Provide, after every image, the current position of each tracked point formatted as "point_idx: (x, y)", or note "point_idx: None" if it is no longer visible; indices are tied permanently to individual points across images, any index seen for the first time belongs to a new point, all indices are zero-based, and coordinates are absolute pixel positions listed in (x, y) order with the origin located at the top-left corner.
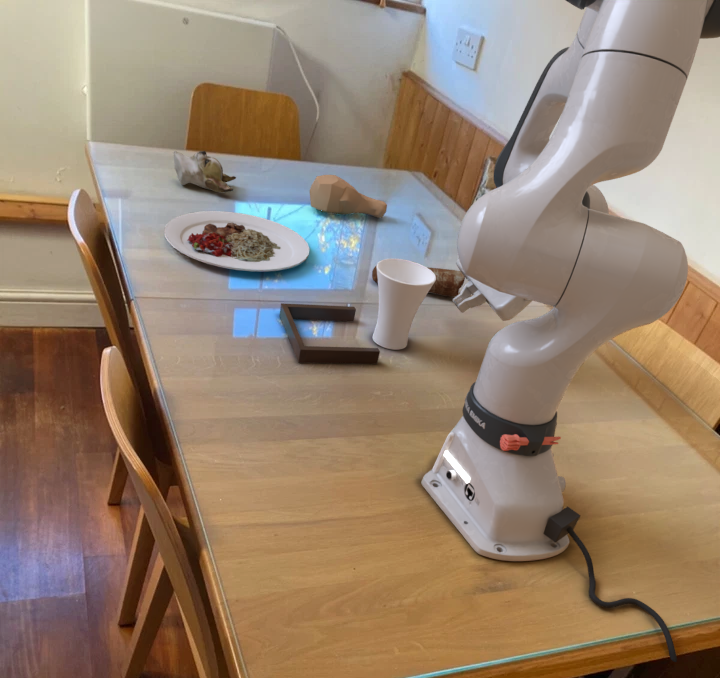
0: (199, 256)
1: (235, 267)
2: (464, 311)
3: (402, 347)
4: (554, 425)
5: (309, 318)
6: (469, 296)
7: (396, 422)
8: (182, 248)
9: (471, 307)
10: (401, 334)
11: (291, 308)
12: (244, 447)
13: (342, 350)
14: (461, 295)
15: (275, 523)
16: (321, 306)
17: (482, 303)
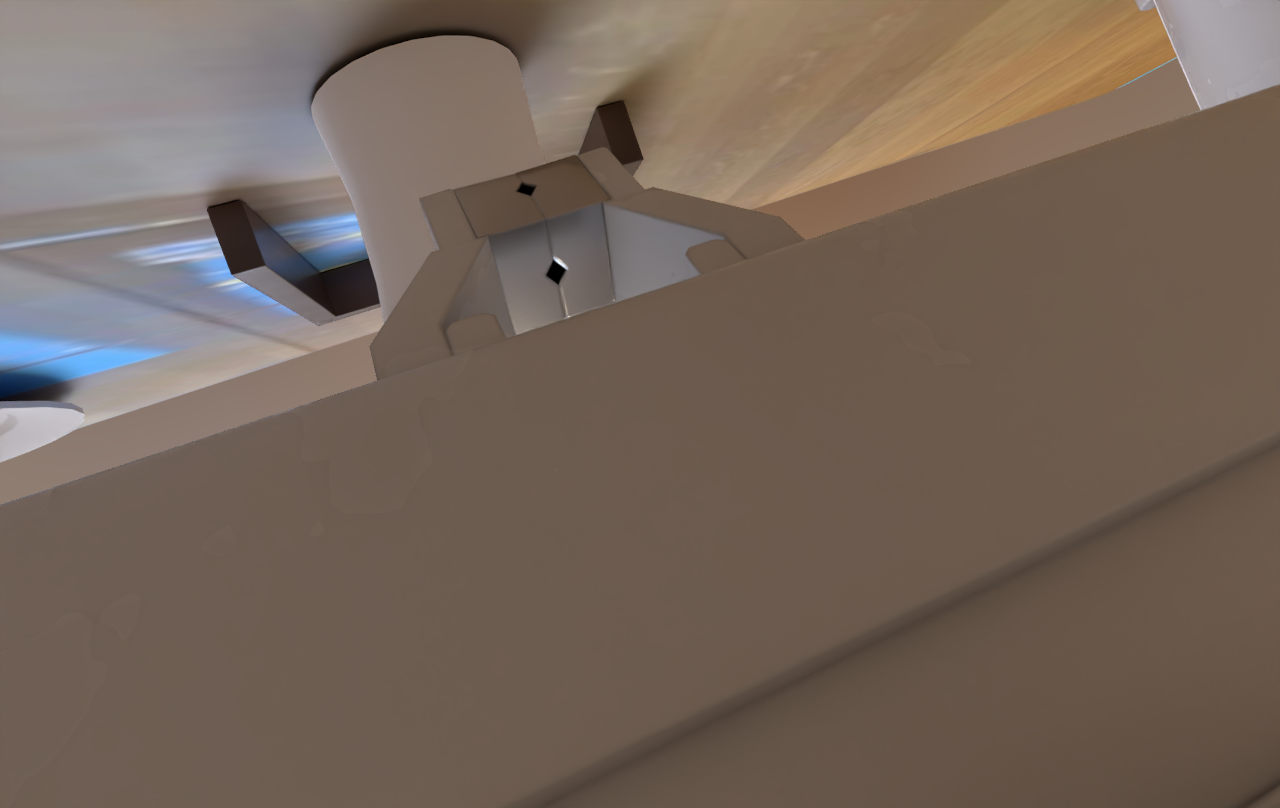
0: (27, 431)
1: (62, 410)
2: (614, 157)
3: (512, 59)
4: None
5: (302, 261)
6: (454, 296)
7: (932, 36)
8: (12, 447)
9: (665, 193)
10: (542, 153)
11: (332, 309)
12: (802, 176)
13: None
14: (512, 333)
15: (958, 125)
16: (293, 300)
17: (800, 241)
